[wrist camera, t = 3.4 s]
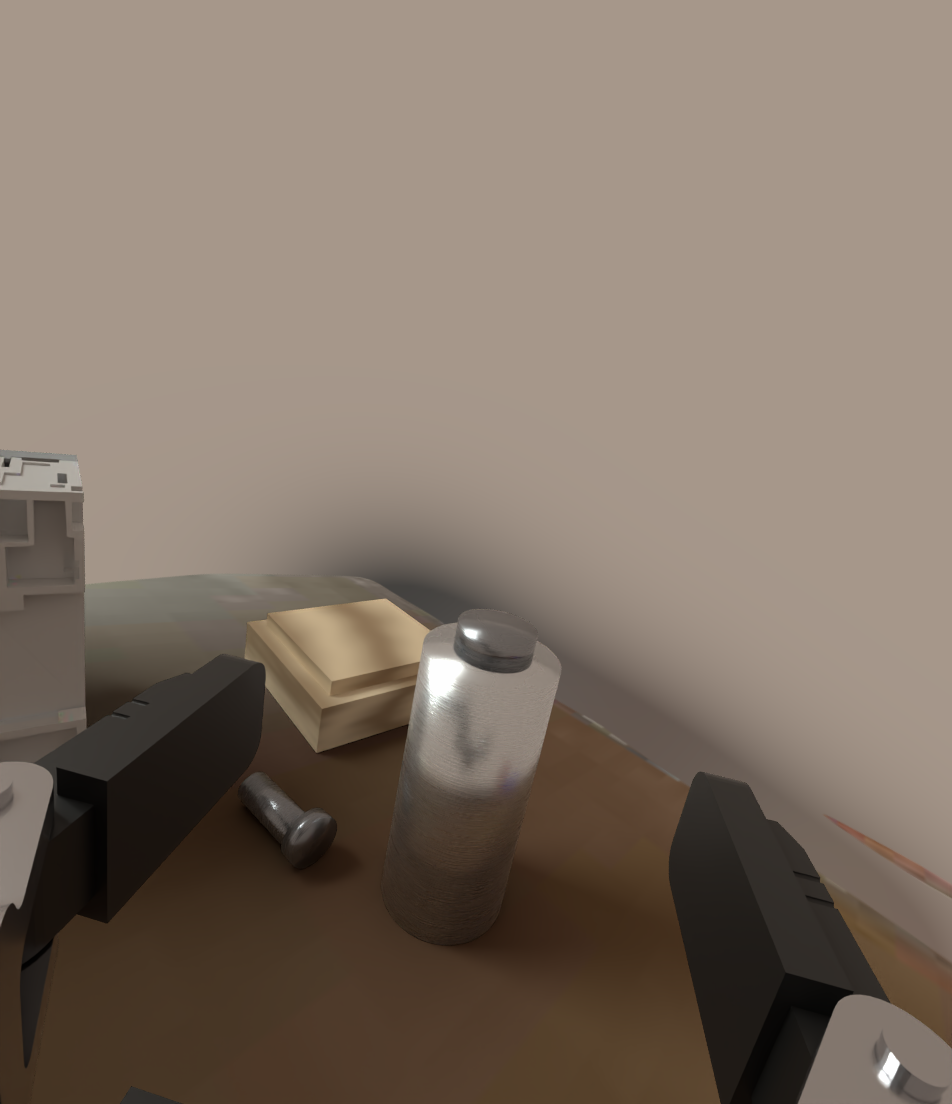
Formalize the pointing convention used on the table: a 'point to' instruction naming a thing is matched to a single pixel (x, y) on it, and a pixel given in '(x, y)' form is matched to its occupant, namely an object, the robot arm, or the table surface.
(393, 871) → the silver metal bottle
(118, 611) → the table surface
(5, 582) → the circuit breaker
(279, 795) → the bolt
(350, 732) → the stand
